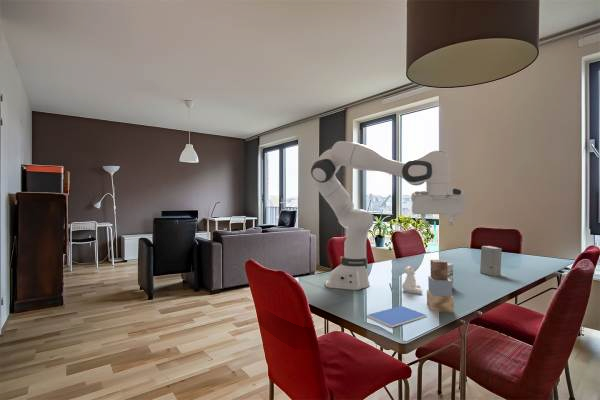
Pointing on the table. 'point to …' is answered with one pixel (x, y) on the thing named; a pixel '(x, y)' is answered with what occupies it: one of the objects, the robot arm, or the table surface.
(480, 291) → the table surface
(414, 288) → the seated beast figurine
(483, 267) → the skincare box
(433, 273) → the walnut block
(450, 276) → the ink box
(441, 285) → the slate block
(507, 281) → the table surface
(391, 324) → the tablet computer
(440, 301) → the oak block
